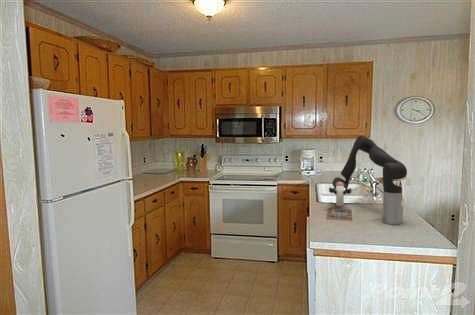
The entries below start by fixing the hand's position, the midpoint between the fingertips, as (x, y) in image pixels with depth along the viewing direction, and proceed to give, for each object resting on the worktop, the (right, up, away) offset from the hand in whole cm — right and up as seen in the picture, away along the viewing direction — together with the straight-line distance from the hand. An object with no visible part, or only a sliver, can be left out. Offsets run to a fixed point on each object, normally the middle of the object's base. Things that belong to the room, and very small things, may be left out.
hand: (339, 192), depth 191 cm
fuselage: (+1, -8, +3) cm, 8 cm away
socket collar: (-2, -13, -5) cm, 14 cm away
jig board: (0, -14, 0) cm, 14 cm away
